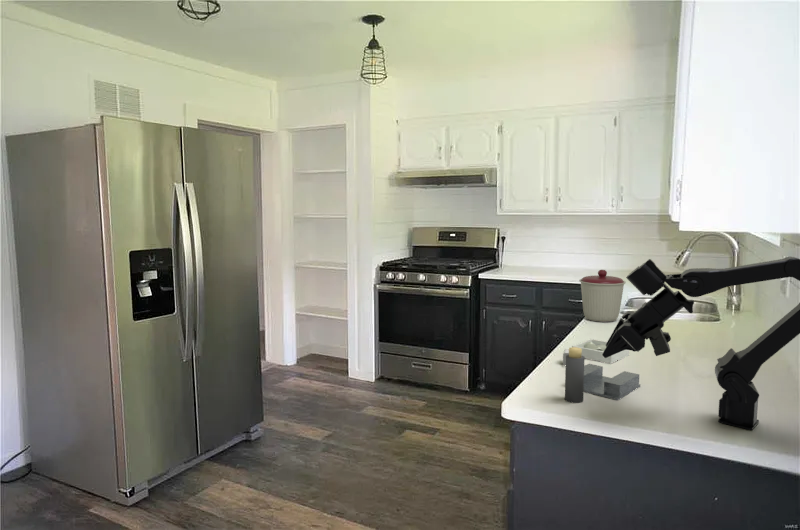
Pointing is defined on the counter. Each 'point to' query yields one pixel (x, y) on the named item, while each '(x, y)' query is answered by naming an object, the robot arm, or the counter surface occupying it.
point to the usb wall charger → (566, 352)
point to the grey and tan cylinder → (574, 375)
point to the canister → (601, 296)
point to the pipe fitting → (594, 347)
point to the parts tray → (600, 352)
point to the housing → (609, 382)
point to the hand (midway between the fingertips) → (605, 351)
